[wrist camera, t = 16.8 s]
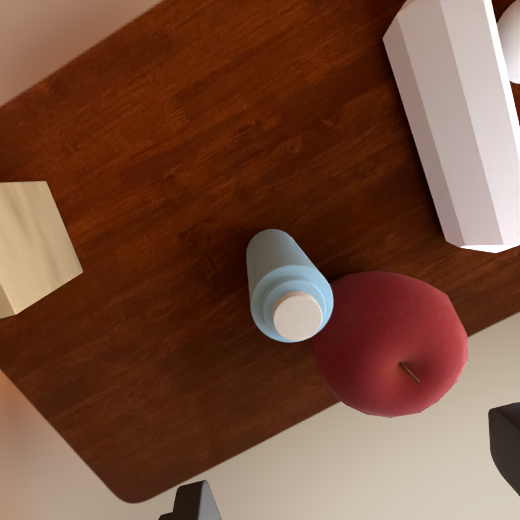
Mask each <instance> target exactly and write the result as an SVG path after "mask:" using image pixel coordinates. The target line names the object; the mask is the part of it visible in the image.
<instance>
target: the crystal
mask: <svg viewBox="0 0 520 520" xmlns="http://www.w3.org/2000/svg"><path fill="white" fill-rule="evenodd" d="M383 42H384V45H385V48H386V51H387V54H388V57H389V61H390V64H391V67H392V70H393V73H394V77H395V80H396V83H397V86H398V89H399V93H400V96H401V99H402V102H403V105H404V109H405V112H406V115H407V118H408V121H409V124H410V128H411V131H412V134H413V137H414V140H415V144H416V147H417V150H418V153H419V156H420V160H421V163H422V166H423V169H424V172H425V176H426V179H427V182H428V185H429V188H430V191H431V195H432V198H433V201H434V204H435V207H436V211H437V214H438V217H439V220H440V223H441V227H442V230H443V233H444V236H445V239H446V241H447V242H449V243H451V244H453V245H455V246H458V247H461V248H468V249H474V250H481V251H487V252H494V253H497V252H500V251H503V250H506V249H509V248H512V247H515V246H518V245H520V127H519V123H518V118H517V114H516V109H515V105H514V100H513V96H512V91H511V87H510V83H509V78H508V74H507V69H506V65H505V60H504V56H503V51H502V47H501V42H500V38H499V33H498V29H497V24H496V20H495V15H494V11H493V6H492V2H491V0H407V1H406V2H405V3H404V5H403V6H402V8H401V9H400V10H399V12H398V13H397V15H396V16H395V18H394V20H393V21H392V23H391V25H390V27H389V28H388V30H387V32H386V33H385V35H384V37H383Z"/></svg>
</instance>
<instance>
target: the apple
mask: <svg viewBox="0 0 520 520" xmlns="http://www.w3.org/2000/svg"><path fill="white" fill-rule="evenodd" d="M330 288H331V290H332V294H333V309H332V313H331V315H330V318H329V320H328V321H327V323H326V324H325V326H324V327H323V328H322V329H321V330H320V331H319V332H318V333H316V334H315V335H313V336H312V343H313V351H314V356H315V362H316V367H317V372H318V375H319V376H320V378H321V379H322V381H323V382H324V383H325V385H326V386H327V388H328V389H329V391H330V392H331V394H333V395H334V396H335V397H336V398H338V399H339V400H340V401H342V402H343V403H344V404H346V405H347V406H350V407H352V408H354V409H356V410H358V411H360V412H362V413H365V414H368V415H375V416H382V417H389V418H391V417H397V416H403V415H409V414H415V413H420V412H421V411H423V410H425V409H426V408H428V407H430V406H431V405H433V404H434V403H436V402H437V401H438V400H440V398H441V397H443V395H444V394H445V393H446V392H447V391H448V390H449V389H450V388H451V387H452V386H453V385H454V384H455V383H456V381H457V379H458V378H459V376H460V374H461V372H462V369H463V367H464V366H465V364H466V362H467V360H468V350H467V334H466V332H465V330H464V328H463V326H462V324H461V322H460V320H459V318H458V316H457V314H456V312H455V310H454V308H453V306H452V304H451V302H450V300H449V298H448V296H447V294H445V293H443V292H441V291H440V290H438V289H436V288H434V287H432V286H431V285H429V284H427V283H425V282H424V281H421V280H418V279H415V278H411V277H408V276H405V275H402V274H397V273H390V272H383V271H369V272H361V273H355V274H348V275H345V276H343V277H341V278H339V279H337V280H336V281H334V282H332V283H330Z"/></svg>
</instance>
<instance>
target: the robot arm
mask: <svg viewBox="0 0 520 520" xmlns="http://www.w3.org/2000/svg"><path fill="white" fill-rule="evenodd" d="M488 418H489V434H490V450H491V455H492V458H493V461H494V463H495V465H496V467H497V468H498V470H499V472H500V473H501V475H502V476H503V477H504V479H505V480H506V481H507V482H508V483H509V484H510V485H511V487H512V488H513V489H514V490H515V491H516V492H517V493H518V495H519V496H520V403H518V402H517V403H512V404H509V405H505V406H501V407H496V408H493V409H490V410H489V413H488ZM158 520H222V519H221V516H220V513H219V511H218V508H217V505H216V502H215V500H214V497H213V494H212V492H211V489H210V486H209V484H208V482H207V481H206V480H203V481H199V482H195V483H191V484H187V485H183V486H180V487H179V488H178V490H177V492H176V497H175V502H174V507H173V512H172V513H167V514H164V515H161V516H160V518H159V519H158Z"/></svg>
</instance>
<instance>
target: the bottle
mask: <svg viewBox="0 0 520 520" xmlns="http://www.w3.org/2000/svg"><path fill="white" fill-rule="evenodd" d="M246 259H247V271H248V283H249V295H250V307H251V314H252V317H253V320H254V322H255V324H256V325H257V327H258V328H259V329H260V330H261V331H262V332H263V333H264V334H265V335H267V336H269V337H270V338H272V339H275V340H278V341H282V342H298V341H302V340H305V339H308V338H310V337H312V336H313V335H315V334H316V333H318V332H319V331H320V330H321V329H322V328H323V327H324V326H325V324H326V323H327V321H328V320H329V318H330V315H331V313H332V309H333V294H332V290H331V288H330V285H329V284H328V282H327V280H326V279H325V278H324V277H323V276H322V274H321V273H320V272H319V271H318V269H317V268H316V267H315V266H314V264H313V263H312V262H311V261H310V260H309V258H308V257H307V256H306V255H305V253H304V252H303V251H302V250H301V248H300V247H299V246H298V245H297V244H296V242H295V241H294V240H293V239H292V237H291V236H290V235H288V234H287V233H286V232H284V231H281V230H277V229H268V230H264V231H261V232H259V233H258V234H256V235H255V236H254V237H253V238H252V239H251V241H250V242H249V244H248V247H247V251H246Z"/></svg>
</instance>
